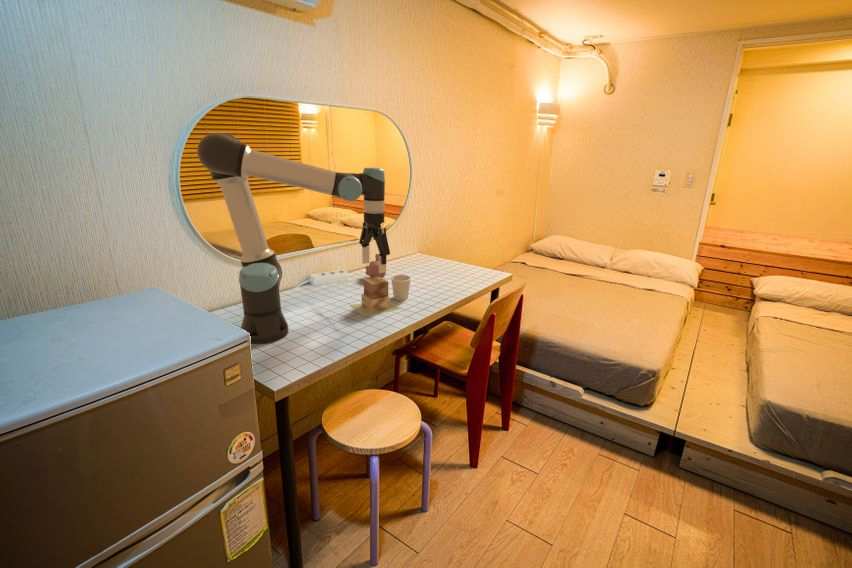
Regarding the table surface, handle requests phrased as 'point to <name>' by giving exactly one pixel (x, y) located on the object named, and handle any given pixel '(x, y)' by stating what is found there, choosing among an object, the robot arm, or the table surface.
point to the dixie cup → (400, 286)
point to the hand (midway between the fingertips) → (373, 267)
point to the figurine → (374, 268)
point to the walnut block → (376, 287)
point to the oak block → (375, 303)
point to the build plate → (365, 312)
